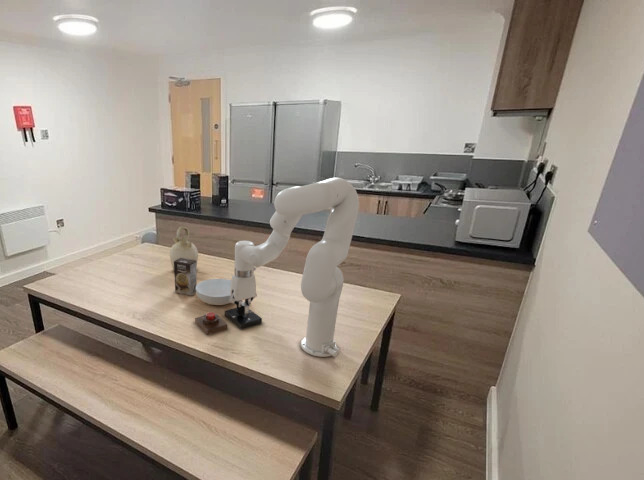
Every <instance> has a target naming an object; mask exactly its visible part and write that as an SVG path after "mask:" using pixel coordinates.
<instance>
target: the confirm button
mask: <svg viewBox="0 0 644 480" xmlns="http://www.w3.org/2000/svg"><path fill="white" fill-rule="evenodd" d="M205 314H206V318H207V319H208V320H213V319H215V314H216V313H215V312H212V311H209V312H207V313H205Z"/></svg>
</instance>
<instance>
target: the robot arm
mask: <svg viewBox="0 0 644 480" xmlns="http://www.w3.org/2000/svg"><path fill="white" fill-rule="evenodd" d="M273 205H274V206H273V207H274V210H275V211H274V213H273V214H272V216H271V217H270V220H269V225H270V227H271V229H272V232H271V233H270V234H269V236H268V238H267V239H266V240H265V241H264V242H262V243H260V244H258V245H255V243H254V242H252V241H251V240H239V241H237V242H236V243H235V245H234V273H233V275H232V276H231V279H230V280H231V286H230V300H229V302H230V303H229V304H233V305H236V307H235V308H236V312H237V313H238V314H239V315H240V316H241V315H242V306H241V303H242V301H243V302H244V303H246V304H247V305H249V307H251V304H252V301H253V300H254V299H255V298H257V297H258V294H257V282H256V276H255V275H256V274H255V273H254V272H255V271H256V270H257V268H260V267H263V266H265V265H267V264H269V263H270V262H272V261H274V260H276V259H277V258H278V257H279V256H280V255H281V253H282V252H283V250H284V249H285V248H286V246H287V245H288V243H289V241H290V238H291V234H292V232H293V230H294V228H295V227H296V226H297V224H298V223H299V221H300V220H301V218H302V217H303V216H304V215H307V214H313V213H318V212H322V211H323V212H324V211H326V210H329V209H330V212H329V215H328V217H327V219H326V224H325V229H324V232H323V236H322V239H321V240H319V241H318V242H316V243H315V244H313V245H312V246H311V247H310V249H309V251H308V252H307V255H306V257H305V261H304V262H305V263H304V268H303V272H302V276H301V282H300V291H301V294H302V296H303V298H305V300H306V301H308V302H309V305H308V306H309V307H308V315H307V326H306V335H305V337H304V338H303V339H302V340H301V342H300V347H301V349H302V350H303V351H304V352H305V353H307V354H309V355H311V356H314V357H319V358H320V357H321V358H325V357H326V358H327V357H331V356H332V357H334V358H336V357H337V356H338V353H339V352H340V350H341V349H340V348H339V347H338V346H337V344H336V340H335V339H334V338H335V333H336V332H335V331H336V324H337V317H338V310H339V303H340V299H341V296H342V295H341V294H342V291H343V287H344V281H345V280H344V278H345V277H344V273H343V272H342V270H341V269H340V268H339V267H338V266H340V265H341V264H342V263H343V262H344V261H345V260H346V259H347V258H348V254H349V250H350V246H351V243H352V239H353V234H354V230H355V226H356V223H357V218H358V215H359V209H360V198H359V195H358V192H357V190H356V188H355V187H354V186H353V184H351V182H349V180H346V179H344V178H341V177H330V178H326V179H324V180H320V181H317V182H313V183H309V184H305V185H294V186H290V187H287V188H284V189H282V190H281V191H279V192H278V193H277V195H276V196H275V198H274V201H273ZM234 299H235V300H234Z"/></svg>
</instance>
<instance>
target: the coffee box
mask: <svg viewBox="0 0 644 480" xmlns="http://www.w3.org/2000/svg"><path fill="white" fill-rule="evenodd" d="M173 273H174V274H173V275H174V293H178V294H181V295H186V296H192V295H194V294H195V293H196V285H197V284H198V282H197V280H198V279H197V276H198V275H197V267H196V260H190V259H185V258H179V259H177V260H175V261H174V270H173Z"/></svg>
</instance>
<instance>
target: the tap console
mask: <svg viewBox="0 0 644 480" xmlns="http://www.w3.org/2000/svg"><path fill="white" fill-rule="evenodd" d="M224 317H225V318H226V319H227V320H229V321H230V323H232V324H234V325H235V326H236V327H237V328H238V329H239V330H245V329H248V328H251V327H255V326H258V325H261V324H263V318H262V317H261V316H260V315H258V314H257V313H255V312H254V311H252V310H251V309H250V308H249V317H246V318H244V317H243V316H242V315H241V316H240V315H239V314H238V313H237V312H236V307H234V308H230V309H227V310H224Z"/></svg>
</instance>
